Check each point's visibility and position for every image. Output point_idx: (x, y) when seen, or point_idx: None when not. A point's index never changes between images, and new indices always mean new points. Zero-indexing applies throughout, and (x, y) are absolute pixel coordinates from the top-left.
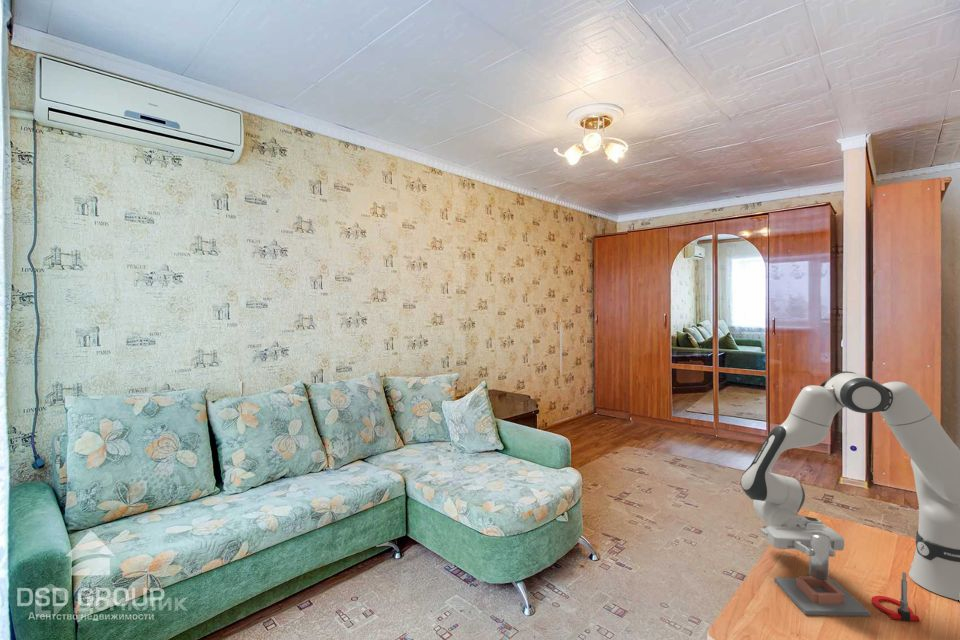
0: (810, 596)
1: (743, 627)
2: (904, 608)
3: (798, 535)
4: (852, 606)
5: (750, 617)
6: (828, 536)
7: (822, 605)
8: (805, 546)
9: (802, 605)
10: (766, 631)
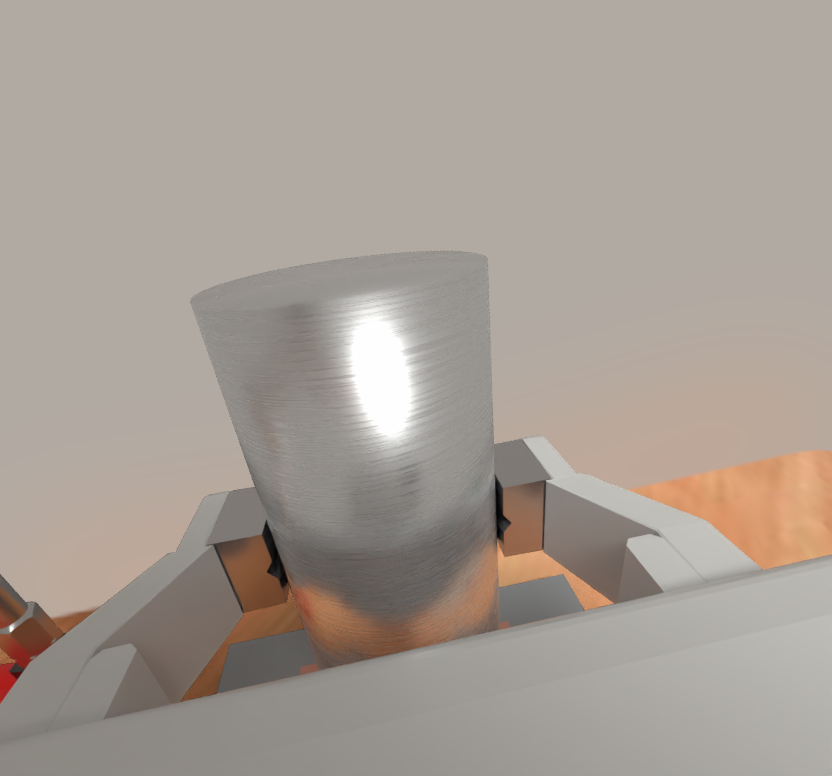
0: None
1: (783, 470)
2: (52, 623)
3: (770, 764)
4: (286, 677)
5: (788, 517)
6: (214, 288)
7: None
8: (564, 484)
9: (572, 609)
10: (701, 473)
